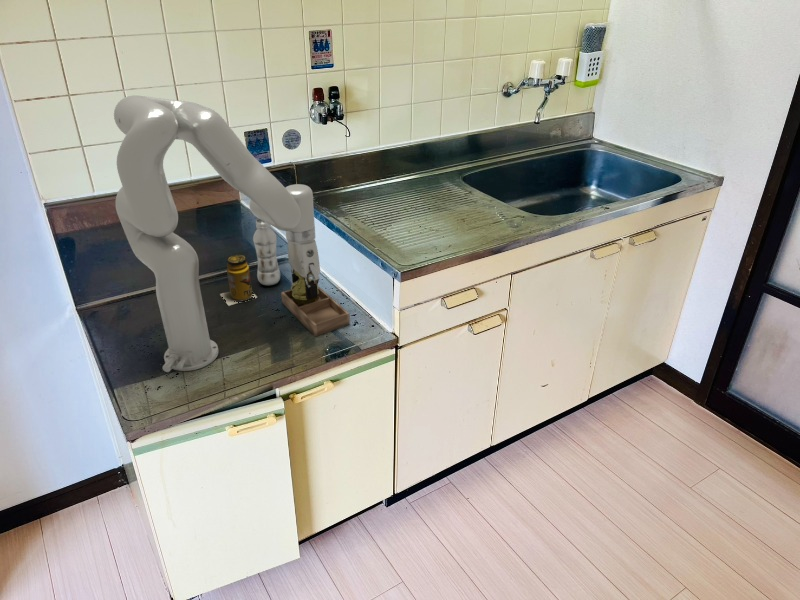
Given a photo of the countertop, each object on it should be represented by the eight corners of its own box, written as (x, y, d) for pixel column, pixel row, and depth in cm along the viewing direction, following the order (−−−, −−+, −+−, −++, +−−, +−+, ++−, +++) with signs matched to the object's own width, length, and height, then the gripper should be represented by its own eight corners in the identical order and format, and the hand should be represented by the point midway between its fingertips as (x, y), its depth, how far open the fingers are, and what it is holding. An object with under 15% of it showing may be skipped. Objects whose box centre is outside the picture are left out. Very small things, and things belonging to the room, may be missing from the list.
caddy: (349, 324, 159) (349, 313, 157) (315, 336, 154) (314, 325, 152) (314, 293, 173) (314, 282, 171) (282, 303, 168) (281, 292, 166)
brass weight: (318, 291, 169) (316, 260, 164) (319, 305, 163) (317, 272, 158) (292, 293, 168) (289, 261, 163) (292, 307, 162) (289, 274, 157)
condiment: (257, 297, 171) (252, 260, 164) (228, 306, 167) (222, 268, 160) (248, 287, 176) (243, 250, 170) (219, 295, 172) (213, 257, 166)
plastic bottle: (260, 277, 181) (252, 216, 170) (282, 277, 181) (276, 215, 170) (256, 288, 175) (248, 225, 165) (279, 288, 175) (273, 225, 165)
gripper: (329, 241, 151) (332, 301, 160) (298, 218, 163) (303, 275, 172) (302, 248, 147) (307, 309, 156) (273, 224, 160) (279, 282, 169)
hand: (305, 291), depth 164 cm, fingers open, 7 cm apart
